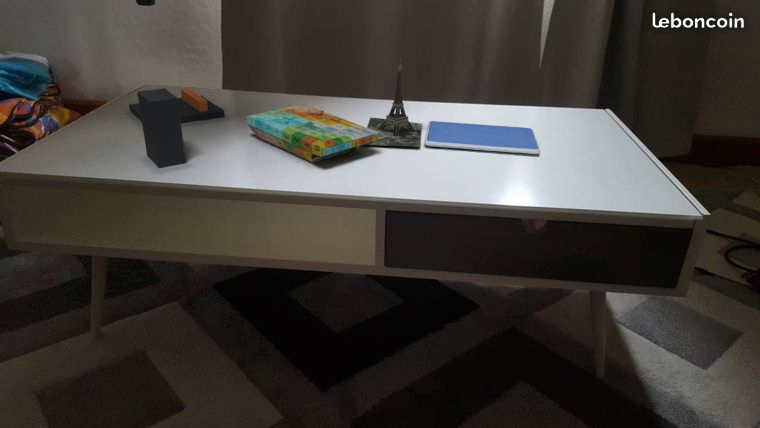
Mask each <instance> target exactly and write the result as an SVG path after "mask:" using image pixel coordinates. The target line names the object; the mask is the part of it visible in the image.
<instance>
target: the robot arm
mask: <svg viewBox="0 0 760 428" xmlns="http://www.w3.org/2000/svg"><path fill="white" fill-rule="evenodd" d="M135 3H136V4H137V6H141V7H142V6H143V7H152V6H155V4H156V0H135Z"/></svg>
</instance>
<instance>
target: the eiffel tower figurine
mask: <svg viewBox="0 0 760 428" xmlns="http://www.w3.org/2000/svg"><path fill="white" fill-rule="evenodd" d="M401 61H402V58H400V61H399V63H400V64H399V65H397V79H396V85H395V86H396V87H395V93H394V99H393V101H392V103H391V104H392V106H391V109H390V110H389V112H388V114H386V116H385V118H380V117H369V120H368V124H367V126H366V128H368V129H371V130H373V131H376V132H379V133H380V138H379V140H377V141H374V142H370V143H367V144H363V145H365V146H385V147H386V146H387V147H415V148H416V147H417V148H420V146H421V140H422V127H423V123H421V122H412V121H410V120H409V116H407V114H406V111H405V107H404V104H405V103H404V101H403V81H402V80H403V78H402V77H403V74H402V73H403V65H402V62H401ZM363 145H362V146H363Z"/></svg>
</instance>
